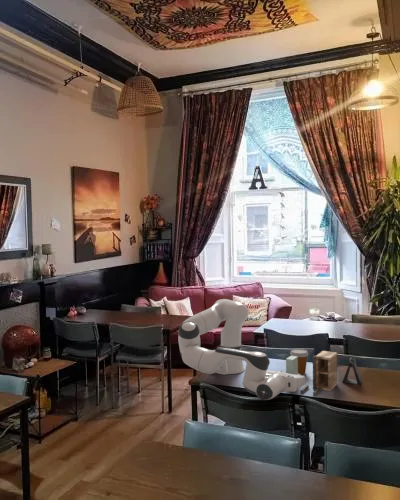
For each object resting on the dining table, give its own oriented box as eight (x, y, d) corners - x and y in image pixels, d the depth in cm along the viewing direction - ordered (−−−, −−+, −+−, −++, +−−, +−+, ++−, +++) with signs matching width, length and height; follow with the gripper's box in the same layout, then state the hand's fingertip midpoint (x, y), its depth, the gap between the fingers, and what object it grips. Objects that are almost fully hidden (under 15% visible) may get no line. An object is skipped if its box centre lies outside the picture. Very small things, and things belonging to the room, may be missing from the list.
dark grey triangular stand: (342, 382, 228) (342, 359, 228) (343, 379, 234) (343, 356, 233) (361, 385, 225) (361, 361, 224) (362, 381, 230) (362, 357, 229)
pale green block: (286, 386, 224) (286, 358, 223) (291, 382, 230) (291, 355, 229) (293, 388, 222) (292, 359, 221) (298, 383, 228) (297, 356, 227)
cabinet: (300, 393, 215) (300, 359, 214) (315, 380, 232) (315, 349, 231) (323, 397, 209) (323, 363, 208) (337, 384, 226) (336, 352, 225)
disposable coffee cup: (308, 376, 239) (308, 353, 238) (290, 375, 241) (290, 353, 240) (308, 370, 248) (307, 349, 248) (290, 369, 250) (290, 348, 250)
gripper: (258, 384, 216) (270, 376, 228) (299, 392, 205) (309, 383, 217) (257, 371, 216) (270, 364, 227) (299, 378, 205) (309, 370, 216)
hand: (289, 373), depth 222 cm, fingers open, 8 cm apart
